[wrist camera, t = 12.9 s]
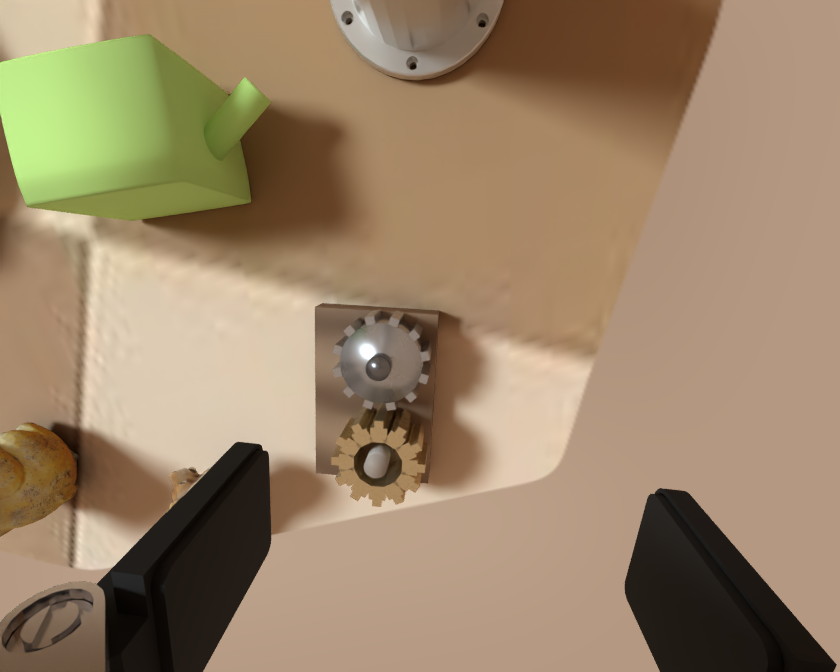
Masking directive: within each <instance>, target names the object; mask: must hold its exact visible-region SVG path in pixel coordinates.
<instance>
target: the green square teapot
mask: <svg viewBox="0 0 840 672" xmlns="http://www.w3.org/2000/svg"><path fill="white" fill-rule="evenodd" d="M270 103H271V101H270V100H269V99H268V98H267V97H265V96H264V95H263V94H262V93H261V92H260V91H259V90H258V89H257V88H256V87H255V86H254V85H253V84H252V83H251V82H250V81H249V80H248V79H247V78H245V77H244V78H243V80H242V81H241V82H240V83H239V85H238V86H237V87H236V88H235V90H234V91H233V92H232V93H231V95H230V96H229V95H228V94H227V93H226V92H225V91H224V90H222V89H221V88H220V87H218V86H217V85H216V84H215V83H214V82H212V81H211V80H210V79H208V78H207V77H206V76H205V75H203V74H202V73H201V72H199V71H198V70H197V69H196V68H194V67H193V66H192V65H191V64H189V63H188V62H187V61H185V60H184V59H183V58H181V57H180V56H178V55H177V54H176V53H174V52H173V51H172V50H170V49H169V48H168V47H166V46H165V45H164V44H162V43H161V42H160V41H158V40H157V39H156V38H154V37H153V36H152V35H138V36H131V37H125V38H119V39H113V40H108V41H102V42H96V43H91V44H85V45H80V46H74V47H69V48H64V49H59V50H54V51H49V52H44V53H40V54H35V55H30V56H25V57H21V58H16V59H12V60H8V61H3V62H0V115H1V119H2V124H3V128H4V132H5V137H6V141H7V145H8V149H9V153H10V157H11V161H12V165H13V168H14V172H15V176H16V179H17V182H18V185H19V188H20V190H21V193H22V196H23V198H24V201H25V203H26V206H27V207H31V208H38V209H45V210H52V211H60V212H67V213H75V214H83V215H90V216H98V217H106V218H114V219H122V220H130V221H133V220H141V219H148V218H155V217H162V216H169V215H176V214H183V213H190V212H196V211H203V210H209V209H215V208H222V207H228V206H234V205H240V204H246V203H251V194H250V186H249V179H248V174H247V169H246V164H245V159H244V155H243V150H242V146H241V141H240V139H241V137H242V136H243V135H244V134H245V133H246V132H247V130H248V129H249V128H250V127H251V126H252V125H253V123H254V122H255V121H256V120H257V119H258V117H259V116H260V115H261V114H262V113H263V112H264V110H265V109H266V108H267V107H268V106H269V105H270Z"/></svg>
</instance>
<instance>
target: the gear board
mask: <svg viewBox="0 0 840 672" xmlns="http://www.w3.org/2000/svg"><path fill="white" fill-rule="evenodd" d="M379 309H381V312H382V317H391V316H392V315H393V313H394V312H395V311H396V310H397V311H400V312H403V313H404V316H403V319H402V320H403V321H405V322H406V323H408V324H409V325H411V326H413V325H414V324H415V323H416V322H418V323H419V324H420V325H421V326H422V327H423V330H422V333H421V336H420V338H421V340H422V342H423V343H425V342H430V343H431V347H432V352H431V357H430V360H428V361H424V362H426V363H429V364H431V368H430V373H429V377H428V380H427V383H426V384H423V383H420V382H419V381H418V382H419V383H420V387H419V391H418V396H417V398H416V399H414V400H413V401H412V402H411V403H410V402H409V401H408V400H407V399H406V398H405V397H404V398H402V399H400V400H399V402H398V405H397V408H396V409H395V410H392V411H394V416H395V415H396V413H397V412H399V413H400V414H401V413H402V411H403V410H404V408H405V409H406V410H408V411H409V412H411V416H410V420H411V421H410V424H412V423H414V425H415V426H416V425H418V424H422V426H423V427H424V429H425V433H424V440H423V443H428V451H427V459H426V467H425V473H422V475H421V482H420V483H428V478H429V466H430V450H431V435H432V419H433V403H434V387H435V371H436V355H437V339H438V323H439V311H435V310H419V309H404V308H388V307H372V306H357V305H341V304H326V303H322V304H320V305H318V306H316V307H315V382H316V473H321V474H332V475H337V474H338V472H339V470H340V469H339V466H338V465H331V456H332V455H333V453H334V451H335V449H336V448H337V446H338V445H337V444H336V441H337V440H338V438H339V436H340V434H341V433H342V431H343V429H344V428H345V426H346V424H347V423H348V421H349V420H350V418H352V419H354V420H355V419H356V417H357V415H358V413H359V412H360V410H361V409H362V408H364V407H363V404H364V401H365V399H363V398H361V397H359V396H358V395H357V394H355V393H354V394H353V395H352V396H351V397H350V398H349V397H348V396H347V395H346V394H345V393H344V392H343V390H344V389H345V388H346V386H347V384H346V382H345V380H344V378H343V376H340V377H335V376H334V373H333V368H334V367H335V366H336V365H337V364H338V363H339V361H340V355H337V354H334V353H333V350H334V346H335V344H336V343H337V342H338V341H340V340H341V339H342V338H343V337H344V336H347V335H346V334H345V332H344V330H345V329H346V328H347V327H348V326H349V325H351V324H352V323H353V322H354V321H355V320H357V319H358V318H360V319H361V320H362V321H363V322H364V323H366V322H365V317H366V316H367V315H368V314H369V313H371V312H372V311H374V310H379ZM349 337H350V336H349ZM381 405H382V403H374V405H373V407H372V409H370V410H371V412H372V411H374V410H375V412H376V413H377V411H378V409H380V407H381ZM363 447H364V449H365V451H366V453H367V454H368V456H367V458H366V461H365V463H364V471H365V473H366V474H367V475H368V476H370V477H372V478H380V477H382V476H384V475H385V473H386V471H387V468H388V464H391V463H393V462H396V461H398V460H400V459H401V458H400V456H399V455H398V453H397V451H396V450H395V449H393V448H392V447H390V446H389V445H387V444H385V443H376V442H371V443H369V444H367V445H364V446H363Z"/></svg>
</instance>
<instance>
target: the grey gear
mask: <svg viewBox="0 0 840 672" xmlns="http://www.w3.org/2000/svg"><path fill="white" fill-rule="evenodd" d="M403 316H404V313H403V312H400V311H397V310H396V311H395V312H394V313H393V315H392V316H391V317H382V312H381V309H379V310H374V311H372V312H371V313H369V314H368V315H367V316H366V317H365V322H366V323H364V322H363V321H362V320H361V319H360V318H358V319H357V320H355V321H354V322H353V323H352V324H351V325H349V326H348V327H347V328H346V329H345V330H344V332H345V334H346V335H347V336H344V337H343V338H342V339H341V340H340V341H338V342H337V343H336V344H335V346H334V350H333V353H334V354H337V355H340V361H339V363H338V364H337V365H336V366H335V367H334V368H333V373H334V376H335V377H340V376H343V378H344V380H345V382H346V384H347V386H346V388H345V389H344V390H343V392H344V393H345V394H346V395H347V396H348V397H349V398H350V397H351V396H352V395H353V394H354V393H355V394H357V395H358V396H359V397H361V398H363V399H365V401H364V404H363V407H365V408H368V409H372V407H373V405H374V403H385V404H386V408H387V411H389V410H395V409H396V408H397V405H398V402H399V400H400V399H402V398H404V397H405V398H406V399H407V400H408V401H409V402H410V403H411V402H412V401H413V400H414V399H416V398H417V396H418V391H419V387H420V383H423V384H426V383H427V380H428V377H429V373H430V368H431V364H429V363H426V362H424V361H428V360H430V357H431V352H432V347H431V343H430V342H425V343H423V342H422V340H421V338H420V336H421V333H422V330H423V327H422V326H421V325H420V324H419V323H418V322H416V323H415V324H414V325H413V326H411V325H409V324H408V323H406V322H405V321H403V320H402V319H403ZM349 336H350V337H349ZM418 381H419V382H420V383H419V382H418Z"/></svg>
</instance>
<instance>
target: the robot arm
mask: <svg viewBox="0 0 840 672" xmlns="http://www.w3.org/2000/svg"><path fill="white" fill-rule="evenodd" d="M330 3H331V7H332V11H333V14H334V16H335V18H336V20H337V23H338V25H339V27H340V30H341V31H342V33H343V35H344V36H345V38H346V40H347V42H348V43H349V44H350V46H351V47H352V48H353V49H354V51H355V52H356V53H357V54H358V56H360V57H361V58H362V59H363V60H364V61H365V62H367V63H368V64H369V65H370V66H371V67H373V68H375V69H377V70H379V71H380V72H382V73H384V74H386V75H389V76H393V77H396V78H399V79H407V80H423V79H431V78H435V77H438V76H441V75H444V74H446V73H449V72H451V71H452V70H454V69H456V68H457V67H459V66H461V65H462V64H464V63H465V62H466V61H467V60H468V59H470V58H471V57H472V56H473V55H474V54H475V53H476V52H477V51H478V50H479V49H480V47H481V46H482V45H483V44H484V42H485V41H486V40H487V39H488V37H489V35H490V33H491V32H492V30H493V28H494V26H495V24H496V22H497V21H498V18H499V15H500V12H501V9H502V6H503V3H504V0H330ZM349 21H353V22H352V23H351V24H350V25H347V23H348V22H349ZM480 23H483V24H484V25H485V27H483V28H481V27H479V26H478V25H479V24H480ZM412 65H416V66H417V68H416V69H415V70H411V69H410V67H411V66H412ZM270 544H271V515H270V480H269V454H268V452H267V451H263V449H262V446H261V445H260V444H253V443H244V442H236V443H235V444H234V445H233V446H232V447H231V448H230V449H229V450H228V451H227V452H226V453H225V454H224V455H223V456H222V457H221V458H220V459H219V460H218V461H217V462H216V463H215V464H214V465H213V466H212V467H211V468H210V469H209V470H208V472H207V473H206V474H205V475H204V476H203V477H202V478H201V479H200V480H199V481H198V482H197V483H196V484H195V485H194V486H193V487H192V488H191V489H190V490H189V491H188V492H187V493H186V494H185V495H184V496H183V497H181V498H180V499H179V500H178V501H177V502H176V503H175V504H174V505H173V506H172V507H171V508H170V509H169V510H168V511H167V512H166V513H165V515H164V516H163V517H162V518H161V519H160V520H159V521H158V522H157V523H156V524H155V525H154V526H153V527H152V528H151V529H150V530H149V531H148V532H147V533H146V534H145V535H144V536H143V537H142V538H141V539H140V540H139V541H138V542H137V543H136V544H135V545H134V546H133V547H132V548H131V549H130V550H129V551H128V553H127V554H126V555H125V556H124V557H123V558H122V559H121V560H120V561H119V562H118V563H117V564H116V565H115V566H114V567H113V568H112V569H111V570H110V571H109V572H108V573H107V574H106V575H105V576H104V577H103V578H102V579H101V580H100V581H99V582H98V583H97V584H95V583H90V582H86V581H79V582H69V583H65V584H61V585H57V586H54V587H52V588H49V589H47V590H44V591H42V592H40V593H37V594H36V595H34V596H32V597H31V598H29V599H27V600H26V601H24V602H22V603H21V604H19V605H18V606H17V607H16V608H14V609H13V610H12V611H11V612H10V613H8V614H7V615H6V616H5V617H4V618H3V619H2V620H1V622H0V672H203V670H204V669H205V667H206V665H207V663H208V661H209V660H210V658H211V656H212V654H213V652H214V650H215V649H216V647H217V645H218V643H219V641H220V639H221V638H222V636H223V634H224V632H225V630H226V629H227V627H228V625H229V623H230V621H231V620H232V618H233V616H234V614H235V612H236V610H237V608H238V607H239V605H240V603H241V601H242V600H243V598H244V596H245V594H246V592H247V590H248V589H249V587H250V585H251V583H252V581H253V580H254V578H255V576H256V574H257V572H258V570H259V569H260V567H261V565H262V563H263V561H264V560H265V558H266V556H267V554H268V551H269V548H270ZM625 594H626V598H627V601H628V603H629V605H630V607H631V609H632V612H633V614H634V616H635V618H636V620H637V622H638V625H639V627H640V629H641V631H642V633H643V635H644V638H645V640H646V642H647V644H648V646H649V649H650V651H651V653H652V655H653V657H654V660H655V662H656V664H657V666H658V668H659V670H660V672H833V671H834V669H835V667H836V663H835V662H834V661H833V660H832V659H831V658H830V656H829V655H828V654H827V653H826V652H825V651H824V649H823V648H822V647H821V646H820V645H819V644H818V643H817V641H816V640H815V639H814V638H813V637H812V636H811V634H810V633H809V632H808V631H807V630H806V629H805V627H804V626H803V625H802V624H801V623H800V622H799V621H798V620H797V618H796V617H795V616H794V615H793V614H792V612H791V611H790V610H789V609H788V608H787V607H786V605H785V604H784V603H783V602H782V601H781V600H780V598H779V597H778V596H777V595H776V594H775V593H774V591H773V590H772V589H771V588H770V587H769V586H768V585H767V583H766V582H765V581H764V580H763V579H762V578H761V576H760V575H759V574H758V573H757V572H756V571H755V569H754V568H753V567H752V566H751V565H750V564H749V563H748V561H747V560H746V559H745V558H744V557H743V556H742V554H741V553H740V552H739V551H738V550H737V549H736V547H735V546H734V545H733V544H732V543H731V542H730V540H729V539H728V538H727V537H726V536H725V535H724V534H723V532H722V531H721V530H720V529H719V528H718V527H717V525H716V524H715V523H714V522H713V521H712V520H711V519H710V517H709V516H708V515H707V514H706V513H705V512H704V510H703V509H702V508H701V507H700V506H699V505H698V503H697V502H696V501H695V500H694V499H693V498H692V496H691V495H690V494H689V493H687V492H685V491H679V490H671V489H662V488H660V489H658V490H657V491H656V492H655V494H650V495H649V497H648V499H647V503H646V506H645V510H644V513H643V517H642V521H641V524H640V528H639V532H638V535H637V539H636V543H635V547H634V550H633V554H632V558H631V562H630V565H629V569H628V573H627V576H626V580H625Z"/></svg>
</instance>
